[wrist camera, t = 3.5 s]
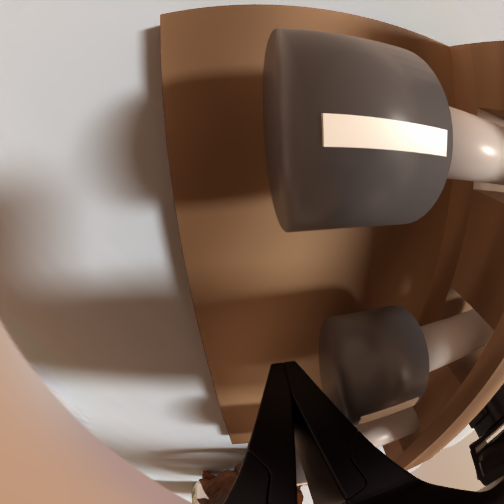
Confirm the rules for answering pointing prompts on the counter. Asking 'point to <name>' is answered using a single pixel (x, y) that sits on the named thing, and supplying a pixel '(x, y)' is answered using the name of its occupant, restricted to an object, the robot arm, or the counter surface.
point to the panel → (321, 241)
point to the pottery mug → (224, 486)
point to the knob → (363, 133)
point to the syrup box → (198, 493)
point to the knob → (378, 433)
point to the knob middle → (390, 357)
